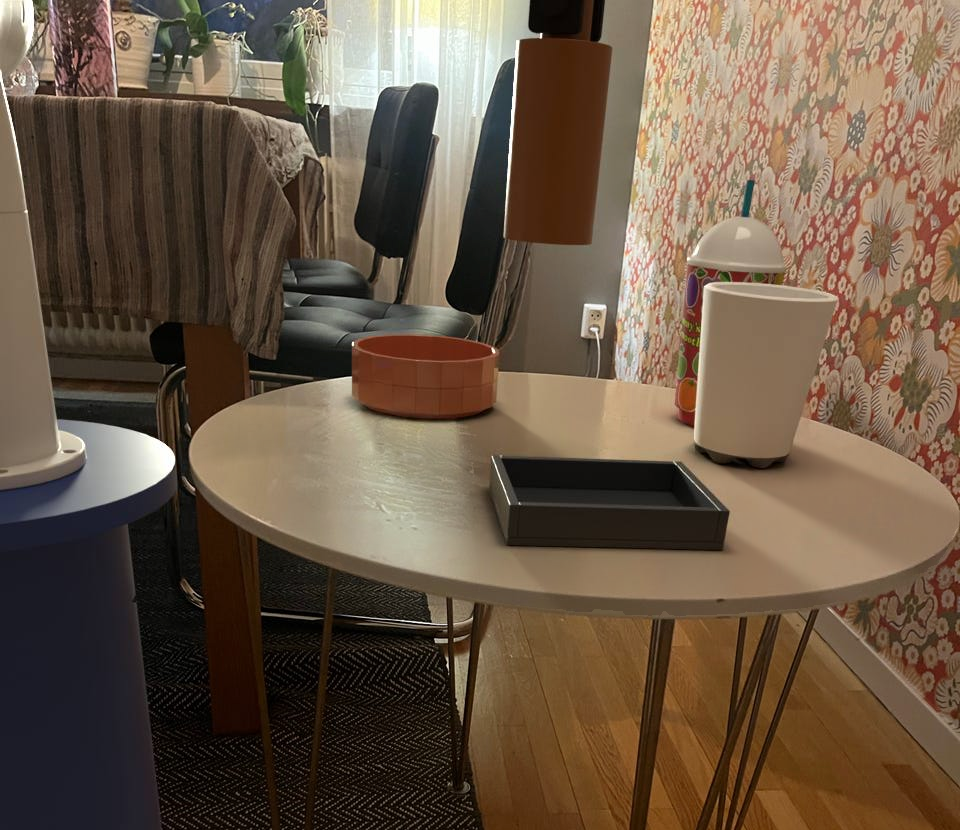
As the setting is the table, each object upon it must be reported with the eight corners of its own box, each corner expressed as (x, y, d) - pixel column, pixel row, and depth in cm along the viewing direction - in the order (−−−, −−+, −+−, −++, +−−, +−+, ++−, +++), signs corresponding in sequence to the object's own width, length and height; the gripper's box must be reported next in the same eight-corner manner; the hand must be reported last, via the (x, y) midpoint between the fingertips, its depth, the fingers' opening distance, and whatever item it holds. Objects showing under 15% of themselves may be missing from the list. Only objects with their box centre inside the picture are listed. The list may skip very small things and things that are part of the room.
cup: (654, 451, 76) (678, 284, 71) (717, 433, 83) (744, 279, 77) (765, 482, 71) (801, 302, 65) (823, 460, 77) (861, 296, 71)
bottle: (510, 241, 59) (531, -50, 53) (498, 234, 64) (515, -33, 58) (600, 247, 60) (632, -40, 53) (581, 239, 65) (608, -23, 58)
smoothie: (644, 417, 87) (678, 175, 78) (701, 407, 92) (738, 179, 83) (718, 439, 81) (764, 181, 72) (774, 427, 86) (823, 185, 77)
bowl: (350, 418, 80) (350, 357, 78) (353, 385, 91) (353, 331, 89) (502, 424, 81) (507, 364, 79) (487, 390, 93) (490, 338, 91)
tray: (506, 545, 56) (509, 504, 55) (488, 490, 65) (491, 454, 64) (722, 550, 57) (730, 511, 56) (676, 496, 66) (681, 461, 65)
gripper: (580, -306, 57) (551, 52, 65) (471, -462, 43) (451, 16, 52) (705, -318, 54) (658, 55, 63) (630, -488, 41) (582, 18, 49)
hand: (565, 34), depth 57 cm, fingers closed on bottle, 3 cm apart
